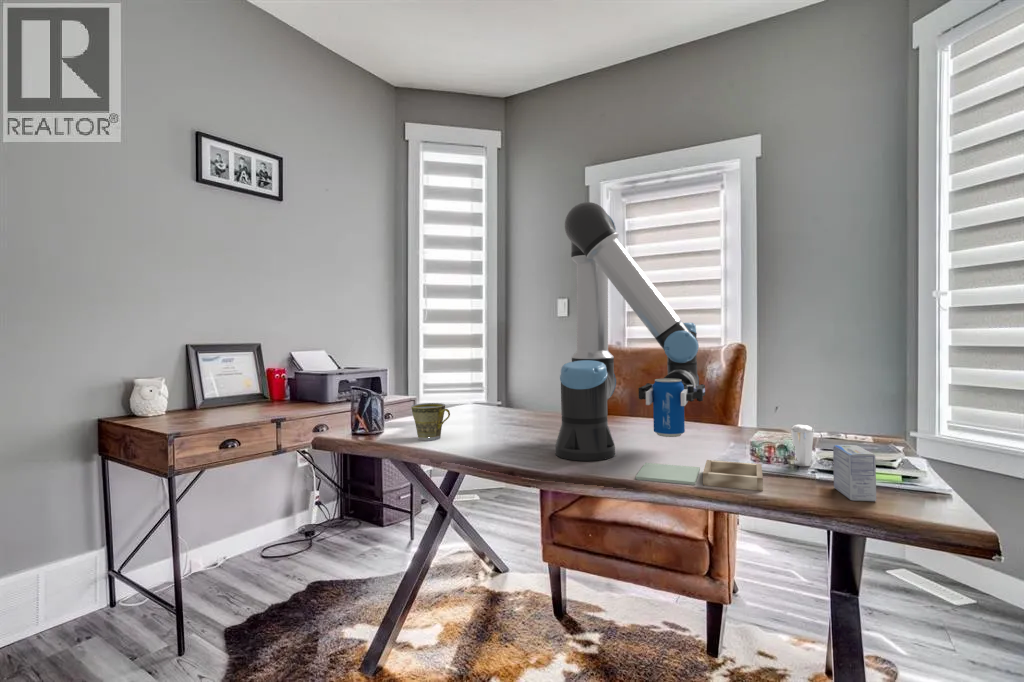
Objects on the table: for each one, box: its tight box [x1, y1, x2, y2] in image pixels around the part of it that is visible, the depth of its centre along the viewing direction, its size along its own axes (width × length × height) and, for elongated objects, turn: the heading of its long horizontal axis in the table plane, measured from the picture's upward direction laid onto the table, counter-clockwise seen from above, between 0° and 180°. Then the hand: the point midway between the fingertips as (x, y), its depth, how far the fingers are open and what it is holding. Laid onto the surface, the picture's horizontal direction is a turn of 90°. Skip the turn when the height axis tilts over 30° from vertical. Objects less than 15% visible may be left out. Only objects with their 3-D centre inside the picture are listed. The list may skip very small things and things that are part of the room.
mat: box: [635, 462, 701, 486], centre depth 117 cm, size 12×12×1 cm
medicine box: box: [832, 444, 877, 503], centre depth 101 cm, size 8×4×9 cm, turn 168°
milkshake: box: [790, 422, 817, 467], centre depth 122 cm, size 4×5×10 cm
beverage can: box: [652, 378, 686, 438], centre depth 116 cm, size 6×6×12 cm
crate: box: [702, 459, 764, 492], centre depth 111 cm, size 11×11×2 cm
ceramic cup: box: [411, 402, 451, 442], centre depth 159 cm, size 13×10×10 cm
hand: (664, 399), depth 112 cm, fingers closed on beverage can, 6 cm apart
